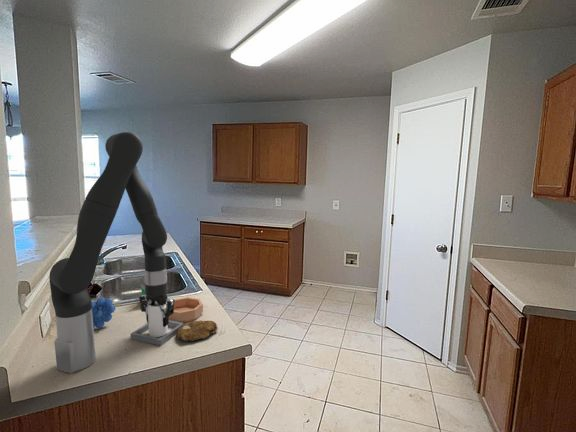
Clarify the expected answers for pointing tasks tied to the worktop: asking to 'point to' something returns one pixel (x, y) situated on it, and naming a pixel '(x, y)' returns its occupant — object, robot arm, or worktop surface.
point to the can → (156, 321)
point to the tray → (153, 340)
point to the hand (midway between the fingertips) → (157, 324)
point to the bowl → (186, 310)
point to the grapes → (102, 312)
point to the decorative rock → (196, 330)
